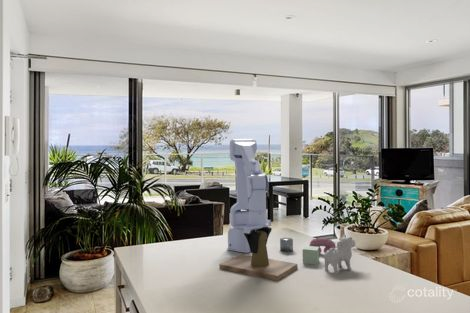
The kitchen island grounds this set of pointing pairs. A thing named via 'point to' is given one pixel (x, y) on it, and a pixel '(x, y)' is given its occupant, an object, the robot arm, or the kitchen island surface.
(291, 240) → the grey domed cylinder
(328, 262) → the dog figurine
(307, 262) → the sage block
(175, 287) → the kitchen island surface
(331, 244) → the pink toy figurine
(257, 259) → the olive peg
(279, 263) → the walnut board
